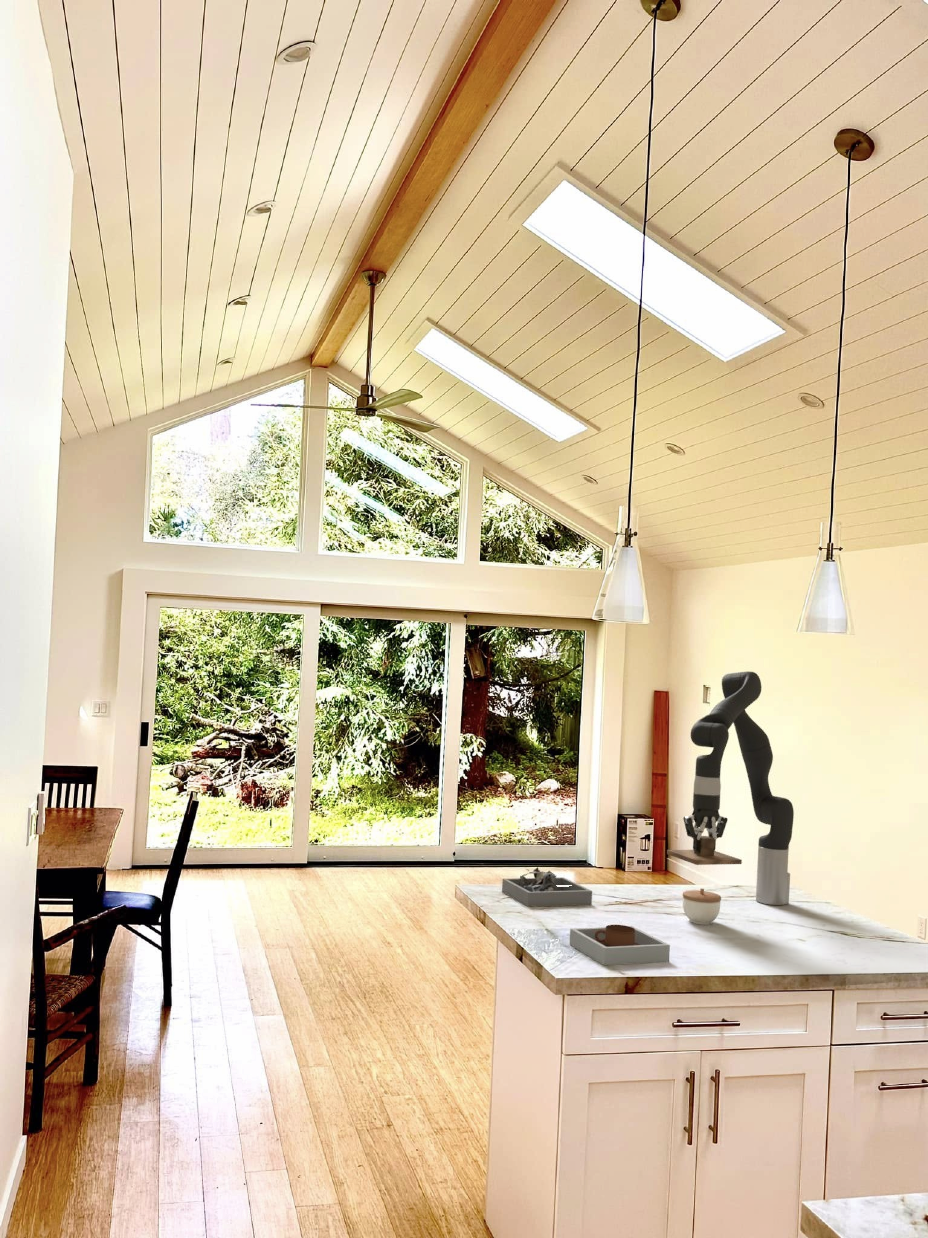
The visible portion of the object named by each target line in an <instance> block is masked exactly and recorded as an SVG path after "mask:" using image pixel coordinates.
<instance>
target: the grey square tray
mask: <svg viewBox="0 0 928 1238" xmlns="http://www.w3.org/2000/svg"><path fill="white" fill-rule="evenodd" d="M628 926H629V927H632V928H634V929H635V943H638V944H640V945H636V946H615V947H606V946H604V945H602V944H600V943H599V942H597V940H596V939H595V933H596V932H597V931H598V930H604V931H605V929H606V926H604V927H603V926H601V927H600V926H599V927H598V926H597V927H579V928H577V927H575V928H570V931H569V945H570V946H571V947H572V948H574V949H576V950H578V951H580V952H581V953H583V954H585V955H586V956H588V957H590V958H591V959H592V960H594V961H597V962H598V963H599V964H601V965H603V966H612V965H613V966H615V965H632V964H648V963H649V964H651V963H664V962H665V963H666V962H667V963H668V962H670V950H671V948H670V947H671V944H670V943H667V942H665V941H663V940H661V939H659V938H657V937H654V935H651V934H649V933H647V932H645V931H643V930H641V929H639V928H637V927H635V926H633V925H628ZM597 937H598V939H600V940H603V939H605V934H604V933H599V934H598V935H597Z"/></svg>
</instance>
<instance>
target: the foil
mask: <svg viewBox="0 0 928 1238" xmlns="http://www.w3.org/2000/svg"><path fill="white" fill-rule="evenodd" d="M525 870H526V871H527V873H525V874H522V875H520V877H519V878H520V880H519V881H520V882H519V884H518V886H520V887H522V888H524V889H526V890H528V891H530V892H542V891H555V887H556V885H548V886H547V883H553V884H554V882H555V878H557V875H556V874H555V873H553V872H552V871H551V870H548V871H541V870H539V867H536V868H535V869H533V870H532V871H530V869H527V868H525ZM529 874H531V875H532V874H533V876H534V877H533V878H535V880H534V881H533V882H532V883H531V882H530V881H529V880H527V879H526V878H527V877H525V876H527V875H529ZM538 887H539V888H538Z"/></svg>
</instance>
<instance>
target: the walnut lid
mask: <svg viewBox="0 0 928 1238" xmlns="http://www.w3.org/2000/svg"><path fill="white" fill-rule="evenodd" d="M700 840H701V849H700V853H696V852H694V850H693V849H667V850H666V855H668V856H671V857H674V858H676V859H679V860H682V861H685V862H688V863H690V864H693V865H696V866H704V865H706V866H710V865H712V866H715V865H742V863H743V861H742V859H740V858H737V857H734V856H731V855H729V854H725V853H722V852H719V851H717V850H715V851H714V845H715V838H712V837H709V836H708V835H701V839H700ZM715 846H716V845H715Z"/></svg>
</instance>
